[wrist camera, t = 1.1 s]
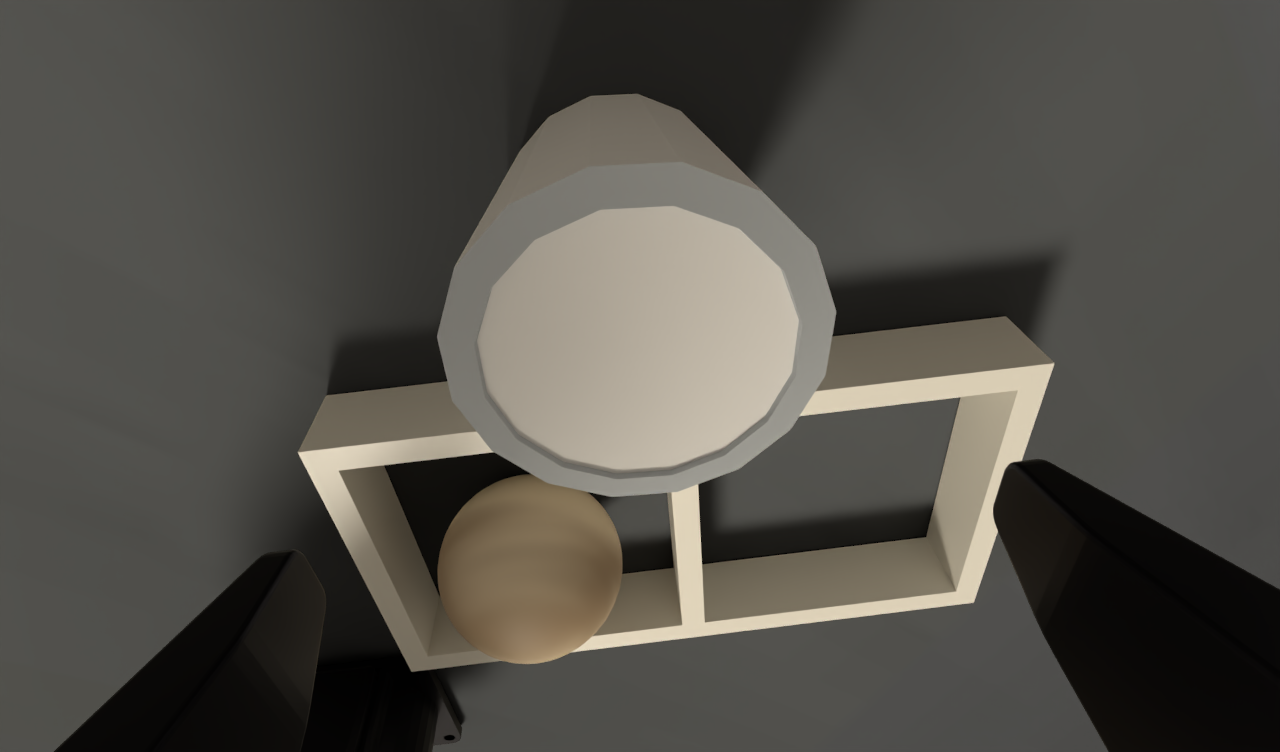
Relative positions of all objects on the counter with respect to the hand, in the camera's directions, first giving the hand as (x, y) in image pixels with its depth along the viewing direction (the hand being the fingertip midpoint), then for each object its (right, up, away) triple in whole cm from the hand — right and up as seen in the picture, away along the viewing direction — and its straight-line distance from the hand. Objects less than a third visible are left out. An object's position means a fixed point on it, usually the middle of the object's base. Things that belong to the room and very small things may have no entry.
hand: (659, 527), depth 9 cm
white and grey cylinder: (-1, +6, +9) cm, 11 cm away
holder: (+1, -2, +14) cm, 15 cm away
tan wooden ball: (-4, -2, +14) cm, 15 cm away
